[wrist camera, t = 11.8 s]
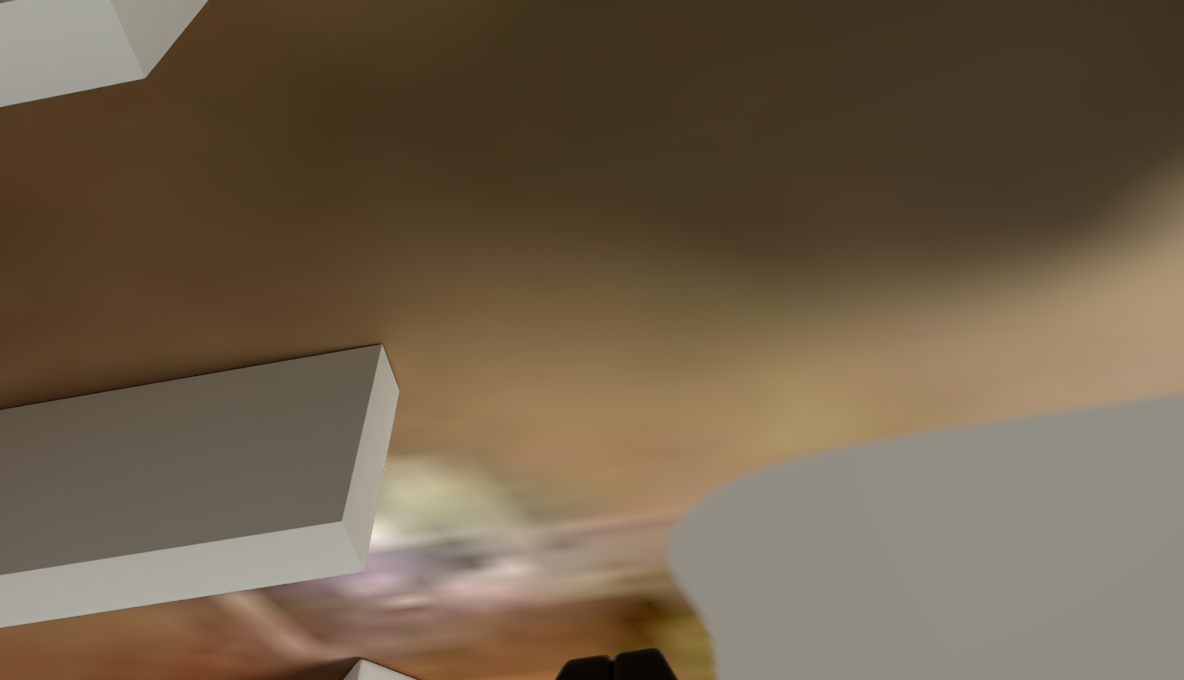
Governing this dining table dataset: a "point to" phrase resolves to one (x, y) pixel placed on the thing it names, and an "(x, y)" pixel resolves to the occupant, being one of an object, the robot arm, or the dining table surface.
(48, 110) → the dining table surface
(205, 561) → the chute
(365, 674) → the milk
